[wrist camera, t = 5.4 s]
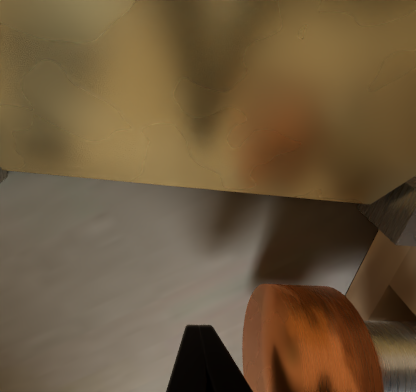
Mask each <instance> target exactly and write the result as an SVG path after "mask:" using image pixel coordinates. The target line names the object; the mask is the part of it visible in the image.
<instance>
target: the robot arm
mask: <svg viewBox="0 0 416 392" xmlns="http://www.w3.org/2000/svg"><path fill="white" fill-rule="evenodd" d="M166 392H253V391H252V389H251V387H250V386H249V384H248V383H247V381H246V379H245V378H244V376H243V375H242V373H241V371H240V370H239V368H238V367H237V365H236V363H235V362H234V360H233V359H232V357H231V355H230V354H229V352H228V351H227V349H226V347H225V346H224V344H223V342H222V341H221V339H220V338H219V336H218V334H217V333H216V331H215V330H214V328H213V327H212V326H211V325H187V326H186V328H185V331H184V334H183V337H182V341H181V344H180V347H179V351H178V354H177V357H176V361H175V364H174V367H173V371H172V374H171V377H170V380H169V384H168V387H167V390H166Z"/></svg>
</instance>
